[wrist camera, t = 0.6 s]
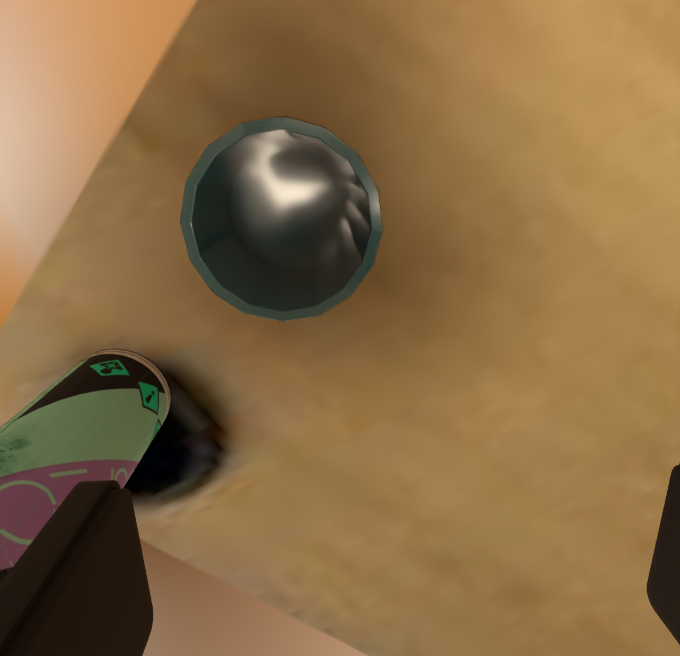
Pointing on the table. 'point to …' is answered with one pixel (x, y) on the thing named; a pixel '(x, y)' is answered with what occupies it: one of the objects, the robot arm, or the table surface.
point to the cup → (281, 219)
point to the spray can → (75, 440)
